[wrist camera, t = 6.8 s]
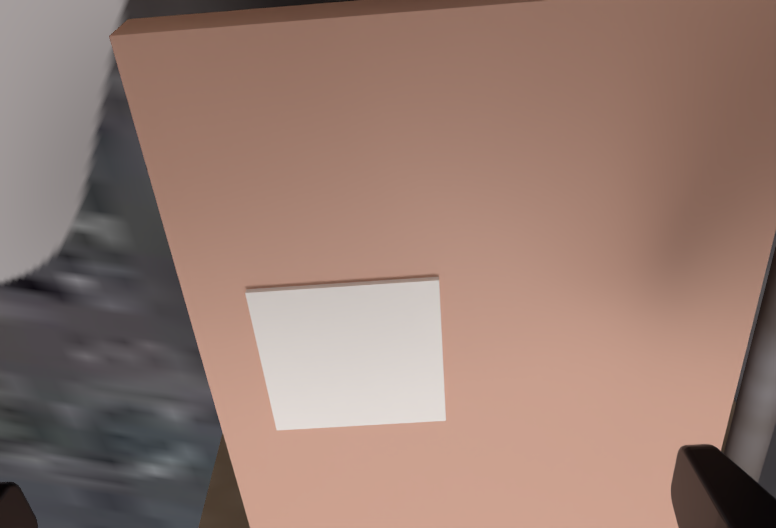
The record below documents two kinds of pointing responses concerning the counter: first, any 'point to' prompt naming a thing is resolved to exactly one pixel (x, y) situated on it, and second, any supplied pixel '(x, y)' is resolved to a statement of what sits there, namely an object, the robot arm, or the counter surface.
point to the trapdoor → (464, 246)
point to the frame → (741, 444)
